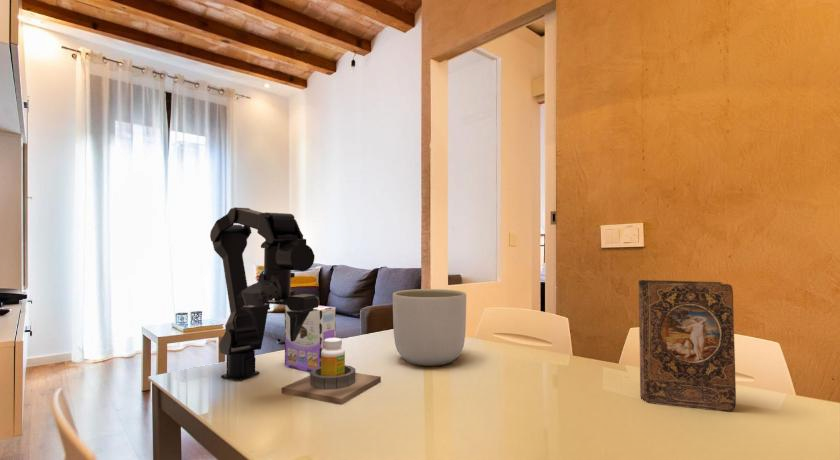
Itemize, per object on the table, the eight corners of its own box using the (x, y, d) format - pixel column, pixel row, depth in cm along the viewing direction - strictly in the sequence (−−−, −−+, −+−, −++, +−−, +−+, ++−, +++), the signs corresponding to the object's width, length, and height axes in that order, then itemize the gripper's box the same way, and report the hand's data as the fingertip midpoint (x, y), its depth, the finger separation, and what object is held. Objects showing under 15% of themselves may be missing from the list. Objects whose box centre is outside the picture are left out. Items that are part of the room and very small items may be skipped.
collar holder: (281, 393, 95) (281, 376, 96) (326, 373, 110) (326, 358, 110) (341, 404, 89) (341, 386, 89) (380, 381, 103) (380, 366, 103)
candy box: (336, 369, 113) (337, 306, 114) (320, 375, 109) (320, 309, 109) (300, 361, 121) (300, 302, 121) (283, 366, 116) (283, 305, 116)
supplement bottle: (339, 386, 96) (339, 342, 96) (316, 384, 97) (317, 341, 97) (348, 379, 101) (348, 337, 102) (326, 377, 102) (327, 336, 103)
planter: (470, 371, 111) (469, 297, 112) (389, 371, 111) (389, 297, 112) (463, 351, 132) (462, 288, 133) (395, 351, 132) (395, 288, 133)
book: (642, 402, 90) (640, 281, 90) (638, 393, 95) (636, 279, 95) (736, 412, 84) (733, 284, 85) (726, 402, 89) (724, 281, 90)
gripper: (217, 269, 93) (216, 342, 93) (285, 273, 85) (284, 352, 85) (256, 266, 103) (255, 332, 103) (320, 269, 96) (319, 340, 95)
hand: (276, 338), depth 96 cm, fingers open, 9 cm apart
